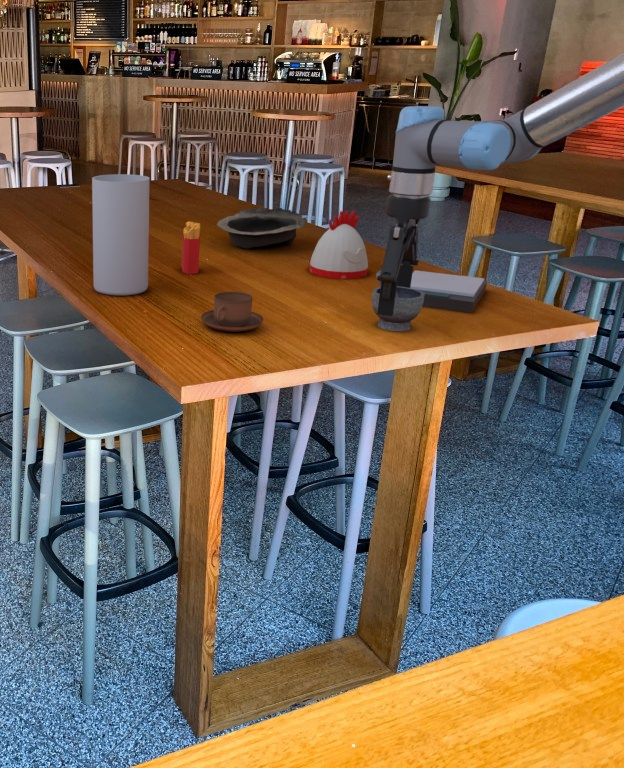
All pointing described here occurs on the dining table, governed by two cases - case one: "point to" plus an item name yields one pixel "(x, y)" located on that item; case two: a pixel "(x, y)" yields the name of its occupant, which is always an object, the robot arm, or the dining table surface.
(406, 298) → the mortar and pestle
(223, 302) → the cup and saucer
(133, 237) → the cylinder vase
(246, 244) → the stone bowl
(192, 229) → the french fries
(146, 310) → the dining table surface
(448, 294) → the kitchen scale
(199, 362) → the dining table surface
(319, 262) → the kitchen timer
